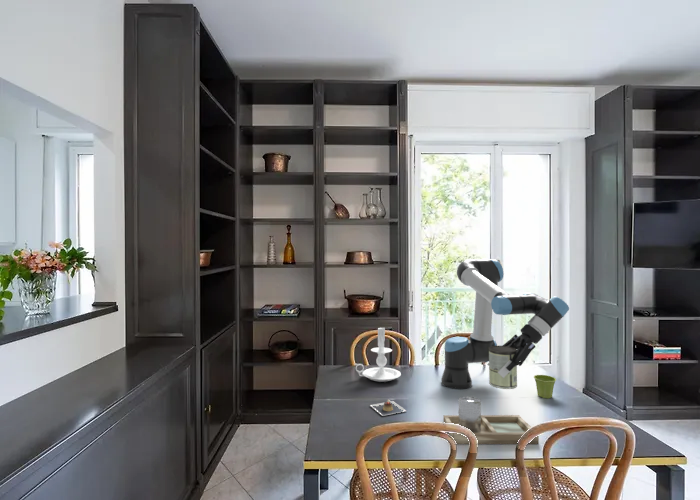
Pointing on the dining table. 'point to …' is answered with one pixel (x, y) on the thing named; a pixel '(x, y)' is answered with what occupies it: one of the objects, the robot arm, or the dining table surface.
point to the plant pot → (544, 385)
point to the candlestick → (380, 363)
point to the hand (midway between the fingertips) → (495, 370)
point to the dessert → (388, 407)
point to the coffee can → (496, 362)
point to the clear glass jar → (470, 413)
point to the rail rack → (494, 429)
